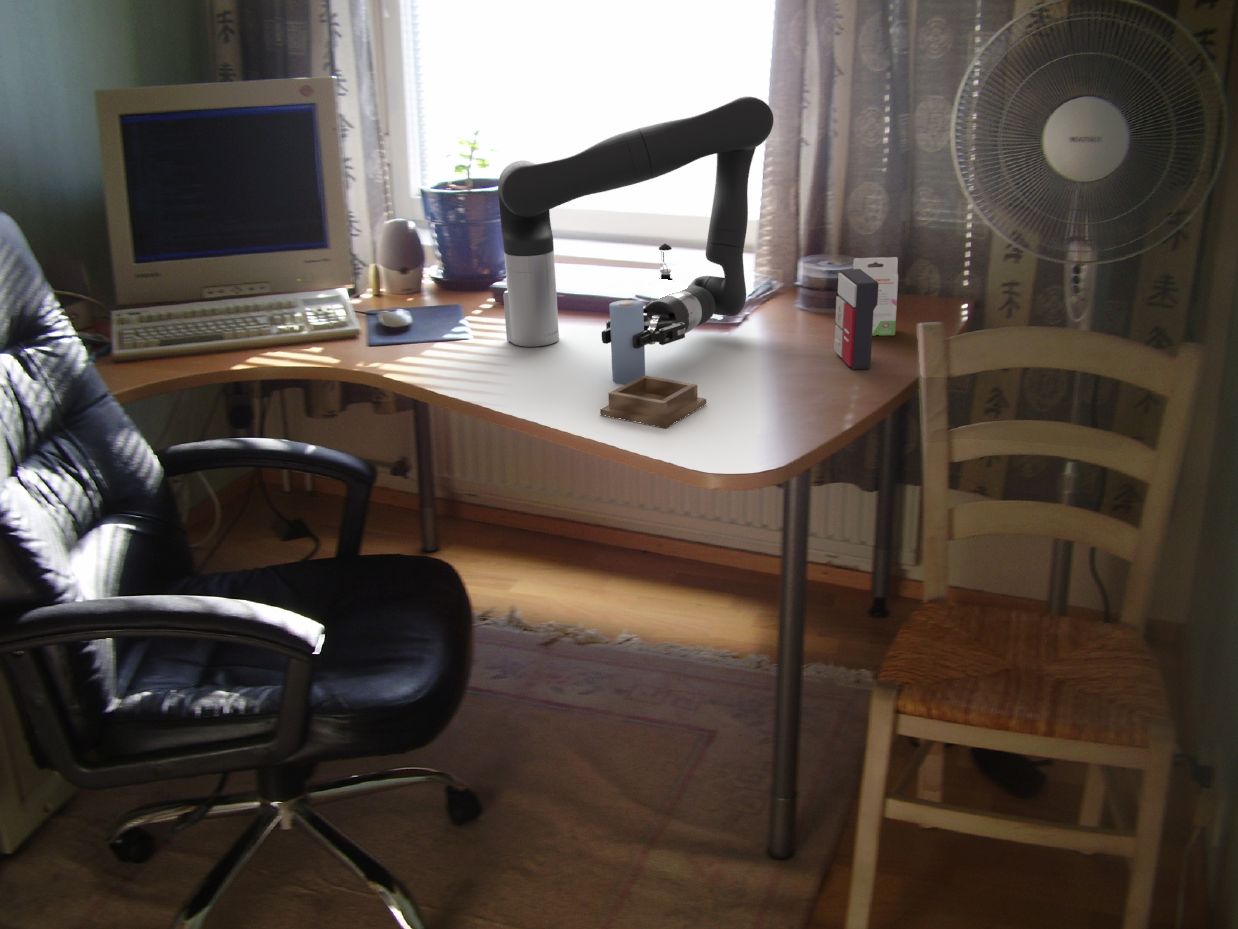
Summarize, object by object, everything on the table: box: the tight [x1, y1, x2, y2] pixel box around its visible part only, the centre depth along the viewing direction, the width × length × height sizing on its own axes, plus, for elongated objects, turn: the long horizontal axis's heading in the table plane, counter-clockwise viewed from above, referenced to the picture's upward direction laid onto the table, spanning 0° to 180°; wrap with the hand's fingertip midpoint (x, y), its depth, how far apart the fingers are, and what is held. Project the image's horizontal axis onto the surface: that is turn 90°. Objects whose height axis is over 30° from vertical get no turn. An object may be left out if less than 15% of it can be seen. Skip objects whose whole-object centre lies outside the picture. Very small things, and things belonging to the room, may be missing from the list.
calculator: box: [833, 268, 878, 371], centre depth 186 cm, size 11×4×15 cm, turn 5°
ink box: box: [852, 256, 899, 337], centre depth 201 cm, size 9×5×15 cm, turn 84°
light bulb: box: [658, 243, 673, 280], centre depth 230 cm, size 12×10×10 cm
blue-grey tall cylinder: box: [608, 299, 646, 385], centre depth 181 cm, size 6×6×13 cm
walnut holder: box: [599, 374, 707, 429], centre depth 168 cm, size 12×12×4 cm
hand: (619, 340), depth 179 cm, fingers closed on blue-grey tall cylinder, 5 cm apart
